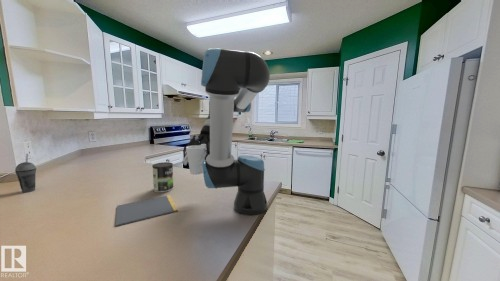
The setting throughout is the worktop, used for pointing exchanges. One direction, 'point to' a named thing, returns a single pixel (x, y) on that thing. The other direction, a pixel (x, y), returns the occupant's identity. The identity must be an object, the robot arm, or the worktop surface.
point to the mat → (144, 210)
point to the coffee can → (163, 177)
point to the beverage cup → (26, 176)
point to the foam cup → (195, 158)
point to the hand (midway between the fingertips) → (192, 164)
